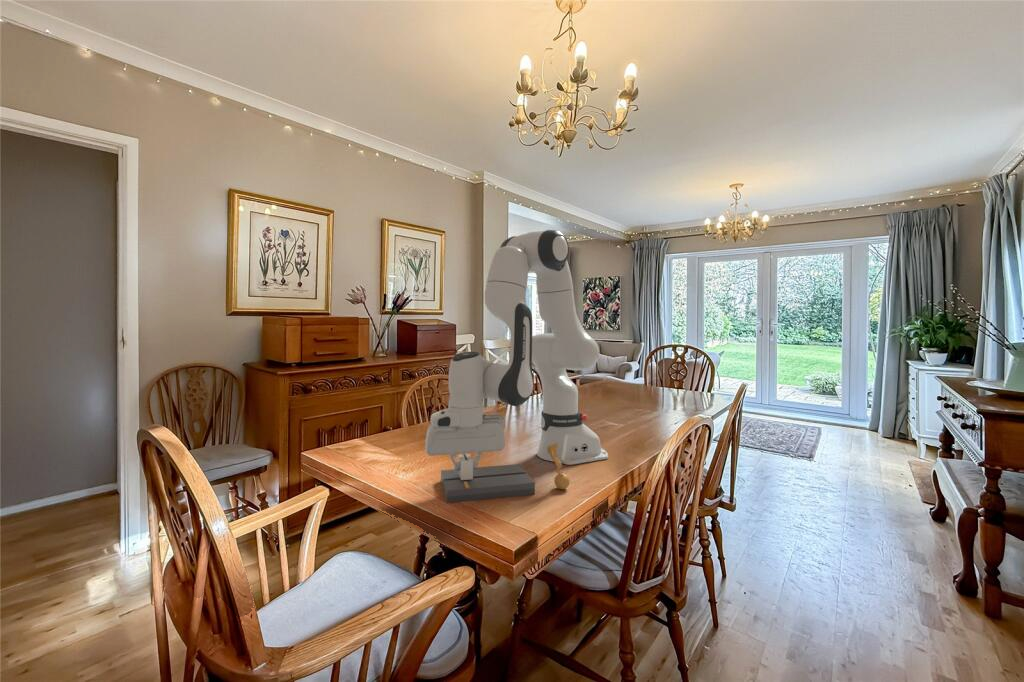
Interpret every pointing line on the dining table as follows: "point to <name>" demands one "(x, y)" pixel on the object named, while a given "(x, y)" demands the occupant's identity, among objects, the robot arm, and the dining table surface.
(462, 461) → the fader tab
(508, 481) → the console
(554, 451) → the figurine
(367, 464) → the dining table surface
